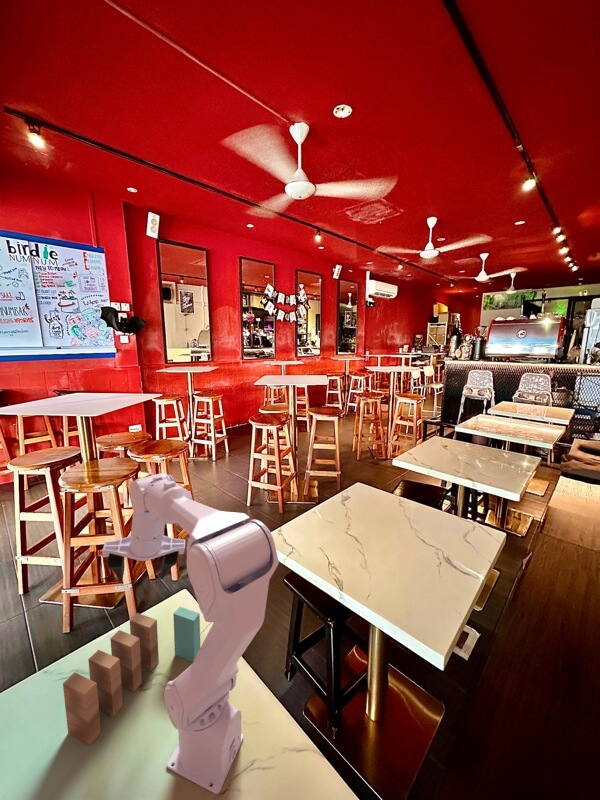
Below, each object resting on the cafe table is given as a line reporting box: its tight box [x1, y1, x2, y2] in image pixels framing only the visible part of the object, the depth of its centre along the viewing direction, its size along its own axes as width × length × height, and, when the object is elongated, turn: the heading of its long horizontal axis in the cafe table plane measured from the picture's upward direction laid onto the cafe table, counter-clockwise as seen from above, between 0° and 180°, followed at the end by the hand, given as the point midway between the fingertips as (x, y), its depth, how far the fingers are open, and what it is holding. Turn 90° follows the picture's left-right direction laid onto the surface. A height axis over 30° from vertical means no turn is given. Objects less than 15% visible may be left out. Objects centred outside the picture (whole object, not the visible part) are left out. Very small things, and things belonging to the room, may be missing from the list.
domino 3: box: [110, 629, 143, 693], centre depth 64 cm, size 5×2×10 cm, turn 71°
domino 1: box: [62, 672, 102, 746], centre depth 55 cm, size 5×2×10 cm, turn 71°
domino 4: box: [129, 612, 160, 671], centre depth 68 cm, size 5×2×10 cm, turn 71°
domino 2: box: [88, 649, 124, 718], centre depth 59 cm, size 5×2×10 cm, turn 71°
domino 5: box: [173, 606, 201, 663], centre depth 70 cm, size 5×2×10 cm, turn 71°
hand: (142, 575), depth 68 cm, fingers open, 7 cm apart
